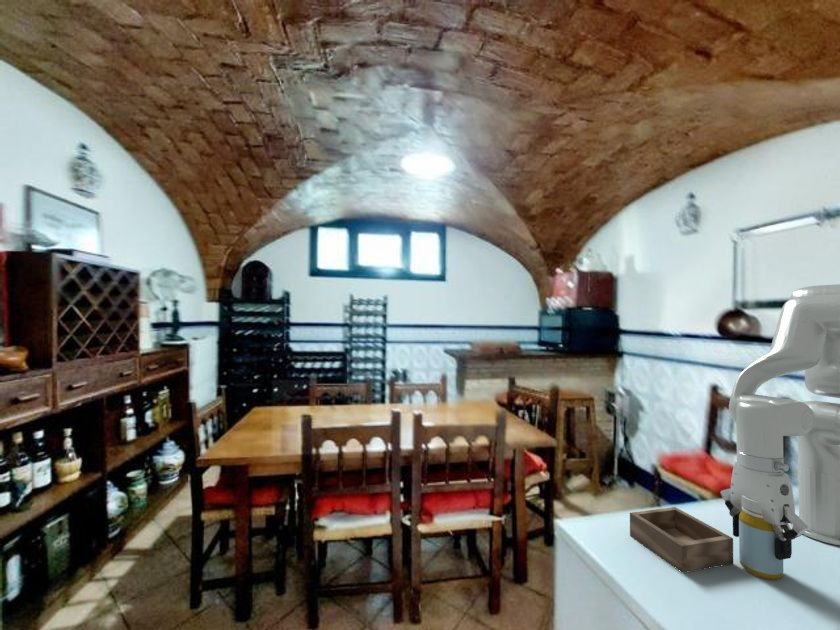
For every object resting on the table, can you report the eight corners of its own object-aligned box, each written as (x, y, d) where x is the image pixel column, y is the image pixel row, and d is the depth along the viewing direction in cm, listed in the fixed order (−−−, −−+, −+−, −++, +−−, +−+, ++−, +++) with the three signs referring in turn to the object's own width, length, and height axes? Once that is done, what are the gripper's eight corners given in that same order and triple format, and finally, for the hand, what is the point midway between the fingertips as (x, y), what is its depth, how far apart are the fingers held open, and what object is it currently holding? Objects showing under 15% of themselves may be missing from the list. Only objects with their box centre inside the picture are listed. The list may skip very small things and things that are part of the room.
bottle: (791, 583, 82) (790, 506, 82) (751, 578, 83) (750, 503, 83) (769, 562, 89) (768, 492, 89) (732, 558, 90) (731, 489, 90)
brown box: (675, 529, 103) (675, 506, 103) (733, 564, 88) (733, 538, 88) (629, 535, 100) (629, 512, 100) (682, 572, 85) (681, 546, 85)
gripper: (822, 475, 78) (823, 568, 78) (734, 447, 95) (734, 524, 95) (791, 479, 77) (792, 574, 77) (707, 450, 94) (708, 528, 94)
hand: (760, 546), depth 86 cm, fingers open, 8 cm apart
